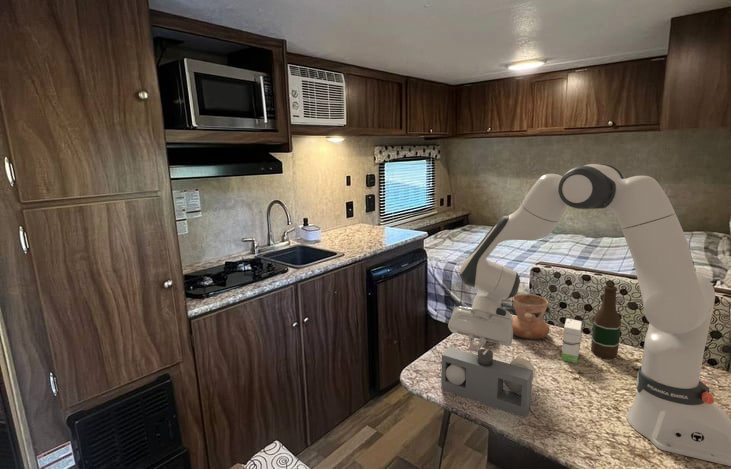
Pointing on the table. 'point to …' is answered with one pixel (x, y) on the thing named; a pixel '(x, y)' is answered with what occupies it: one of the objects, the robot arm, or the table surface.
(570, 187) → the robot arm
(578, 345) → the ink box
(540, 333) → the ceramic jug
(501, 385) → the mount
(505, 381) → the cream knob
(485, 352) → the pot dial
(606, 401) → the table surface
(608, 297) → the beer bottle
